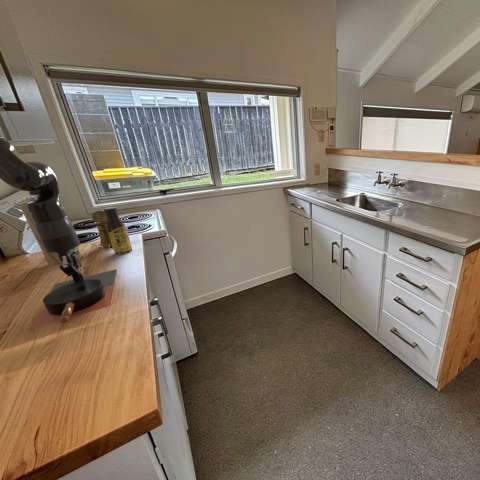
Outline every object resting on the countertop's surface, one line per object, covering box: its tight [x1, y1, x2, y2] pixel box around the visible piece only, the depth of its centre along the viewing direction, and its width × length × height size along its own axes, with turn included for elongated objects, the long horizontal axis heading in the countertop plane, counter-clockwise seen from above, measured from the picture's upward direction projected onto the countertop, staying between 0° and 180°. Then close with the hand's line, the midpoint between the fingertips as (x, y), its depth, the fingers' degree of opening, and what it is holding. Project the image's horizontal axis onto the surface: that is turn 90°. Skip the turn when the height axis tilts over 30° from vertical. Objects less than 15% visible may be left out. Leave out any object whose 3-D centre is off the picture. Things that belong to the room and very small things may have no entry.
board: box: [28, 268, 118, 330], centre depth 80 cm, size 17×27×1 cm, turn 33°
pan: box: [42, 279, 106, 324], centre depth 72 cm, size 13×21×4 cm, turn 33°
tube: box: [18, 200, 83, 267], centre depth 100 cm, size 10×10×25 cm
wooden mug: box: [91, 210, 112, 248], centre depth 115 cm, size 9×14×18 cm, turn 35°
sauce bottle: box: [103, 206, 133, 256], centre depth 106 cm, size 7×6×20 cm
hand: (81, 283), depth 82 cm, fingers closed
